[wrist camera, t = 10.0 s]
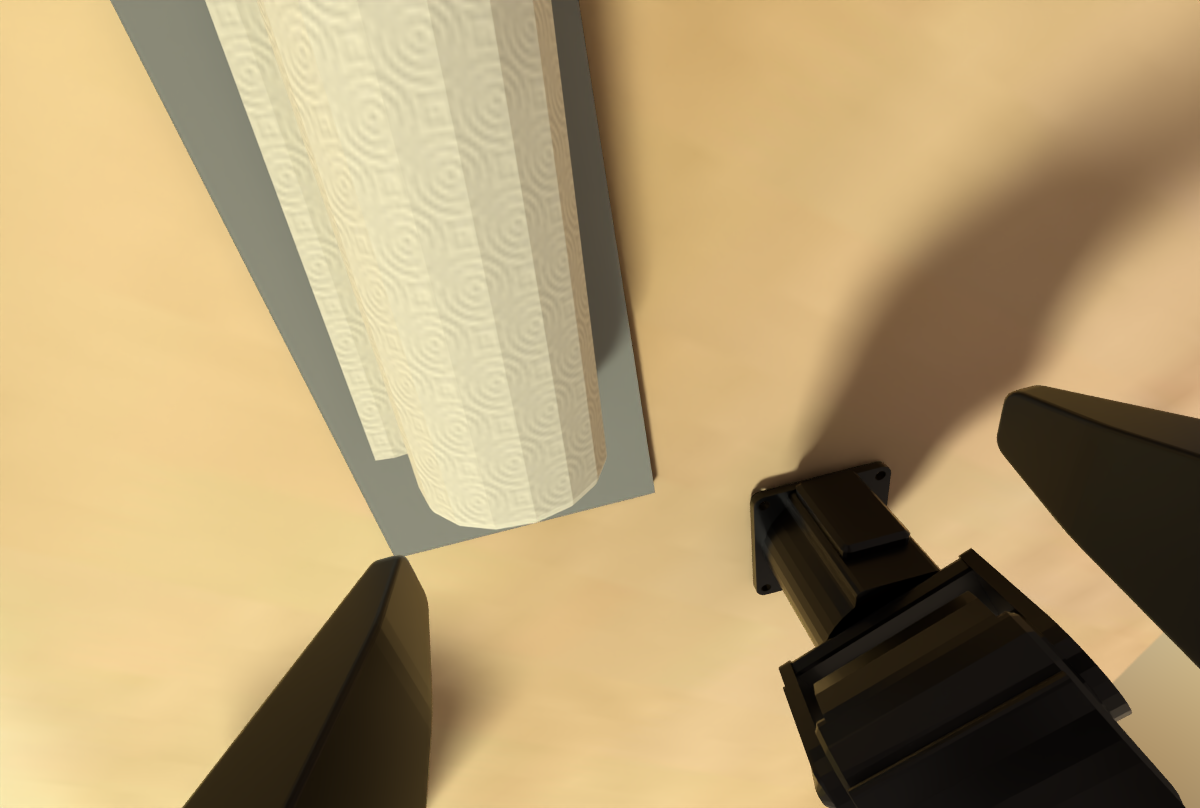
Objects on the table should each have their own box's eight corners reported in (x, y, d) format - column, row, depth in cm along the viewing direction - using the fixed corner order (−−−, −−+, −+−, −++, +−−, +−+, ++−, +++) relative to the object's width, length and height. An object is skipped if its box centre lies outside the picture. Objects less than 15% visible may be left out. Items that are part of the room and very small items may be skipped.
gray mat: (652, 485, 25) (654, 492, 25) (396, 549, 24) (395, 558, 24) (515, -382, 12) (516, -398, 12) (-30, -299, 12) (-50, -313, 11)
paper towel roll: (647, 464, 19) (544, -813, 8) (487, 570, 15) (-61, -1356, 5) (518, 395, 24) (345, -453, 13) (376, 464, 20) (-16, -593, 10)
